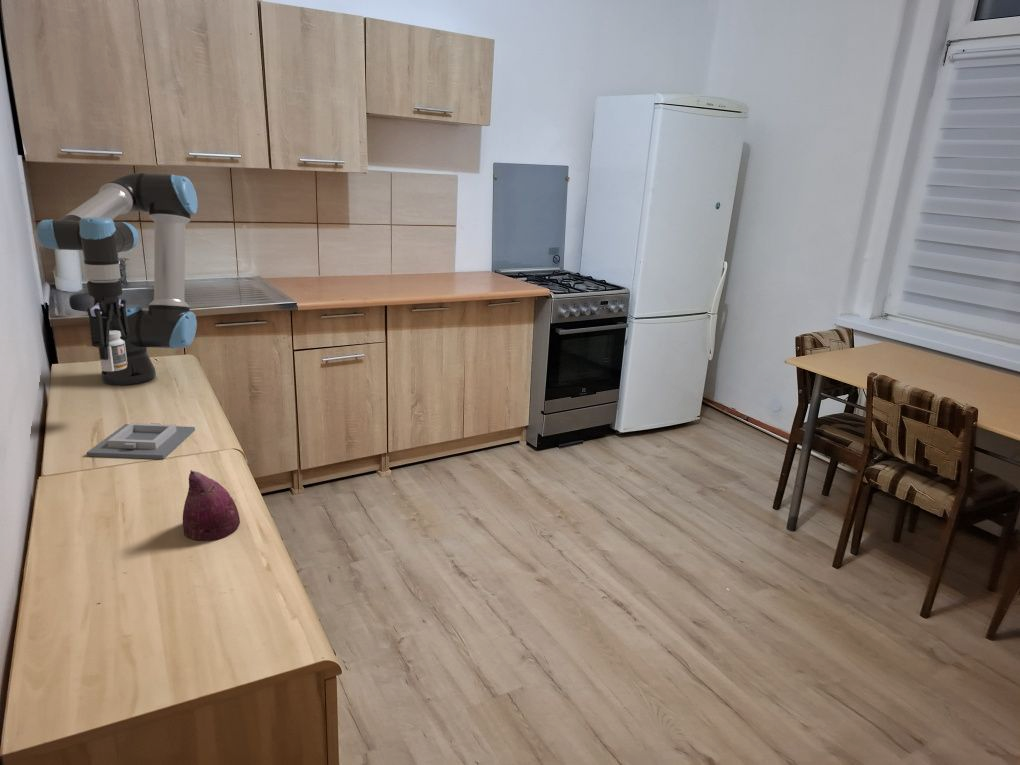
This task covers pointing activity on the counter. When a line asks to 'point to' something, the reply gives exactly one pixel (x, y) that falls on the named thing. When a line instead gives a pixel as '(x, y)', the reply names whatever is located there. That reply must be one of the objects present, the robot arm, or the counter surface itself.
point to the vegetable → (208, 510)
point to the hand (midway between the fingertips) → (114, 367)
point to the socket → (142, 441)
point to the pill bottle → (117, 350)
